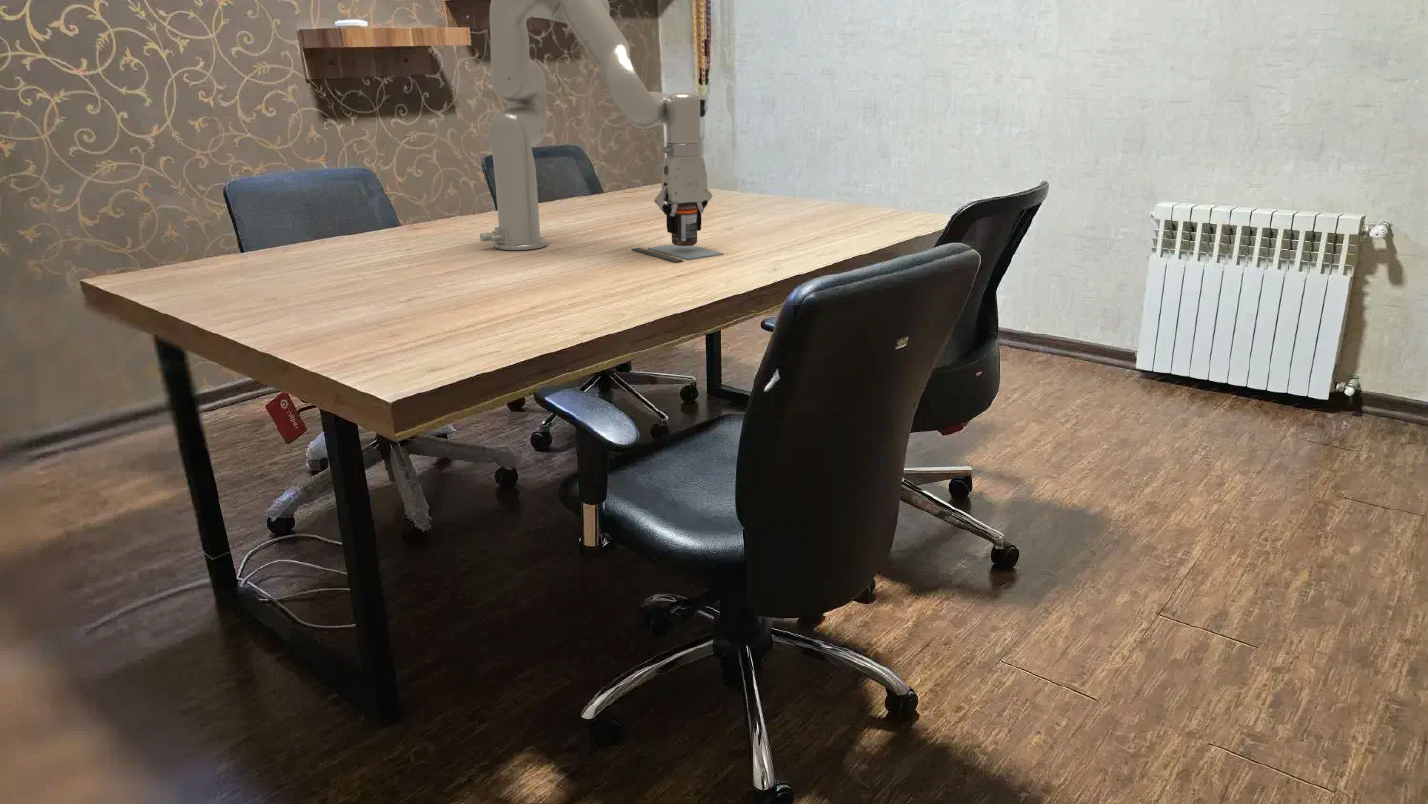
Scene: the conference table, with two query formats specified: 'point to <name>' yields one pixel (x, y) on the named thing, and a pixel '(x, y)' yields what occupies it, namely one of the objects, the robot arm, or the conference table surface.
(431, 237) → the conference table surface
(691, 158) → the robot arm
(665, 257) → the bar
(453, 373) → the conference table surface
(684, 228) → the supplement bottle
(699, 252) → the pad
